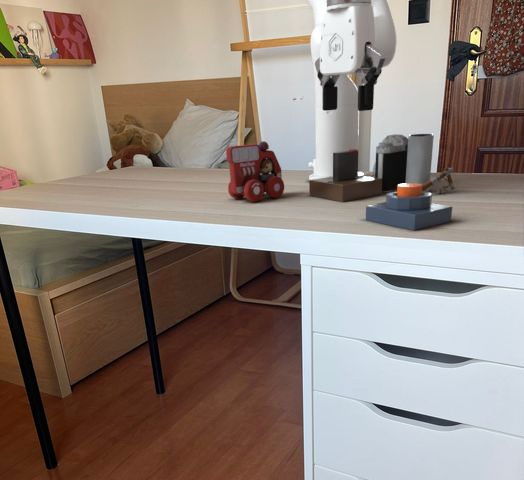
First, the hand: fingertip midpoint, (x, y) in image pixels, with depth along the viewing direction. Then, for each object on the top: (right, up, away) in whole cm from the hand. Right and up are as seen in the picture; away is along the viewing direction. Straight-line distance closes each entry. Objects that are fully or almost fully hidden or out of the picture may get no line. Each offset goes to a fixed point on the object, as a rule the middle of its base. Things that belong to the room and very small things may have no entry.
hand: (347, 110), depth 97 cm
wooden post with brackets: (+17, -15, +3) cm, 23 cm away
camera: (+12, -10, +13) cm, 20 cm away
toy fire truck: (-17, -14, +9) cm, 23 cm away
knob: (+1, -11, +5) cm, 12 cm away
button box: (+7, -24, -16) cm, 30 cm away
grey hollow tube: (+15, -13, +6) cm, 21 cm away
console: (+1, -14, +7) cm, 15 cm away
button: (+7, -21, -17) cm, 28 cm away
